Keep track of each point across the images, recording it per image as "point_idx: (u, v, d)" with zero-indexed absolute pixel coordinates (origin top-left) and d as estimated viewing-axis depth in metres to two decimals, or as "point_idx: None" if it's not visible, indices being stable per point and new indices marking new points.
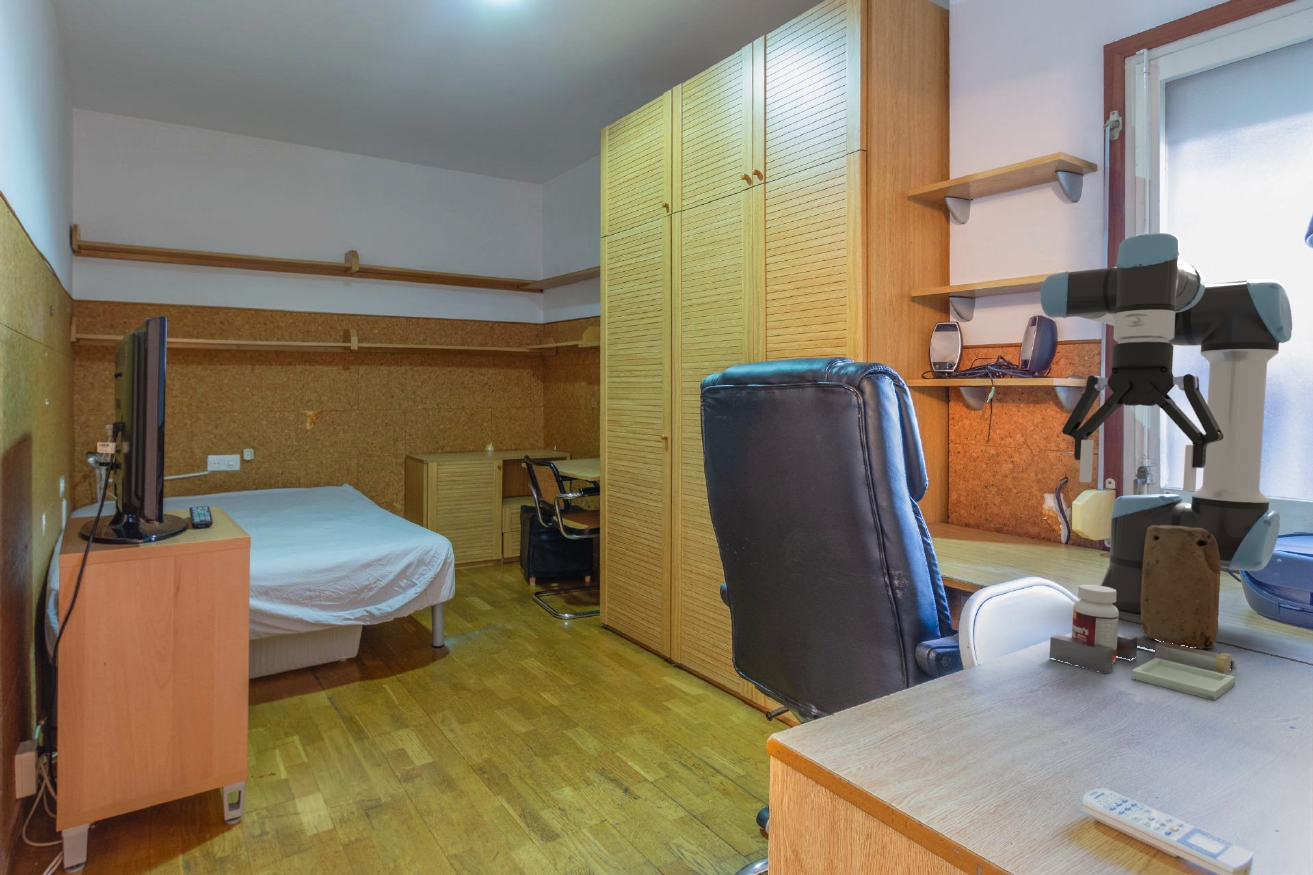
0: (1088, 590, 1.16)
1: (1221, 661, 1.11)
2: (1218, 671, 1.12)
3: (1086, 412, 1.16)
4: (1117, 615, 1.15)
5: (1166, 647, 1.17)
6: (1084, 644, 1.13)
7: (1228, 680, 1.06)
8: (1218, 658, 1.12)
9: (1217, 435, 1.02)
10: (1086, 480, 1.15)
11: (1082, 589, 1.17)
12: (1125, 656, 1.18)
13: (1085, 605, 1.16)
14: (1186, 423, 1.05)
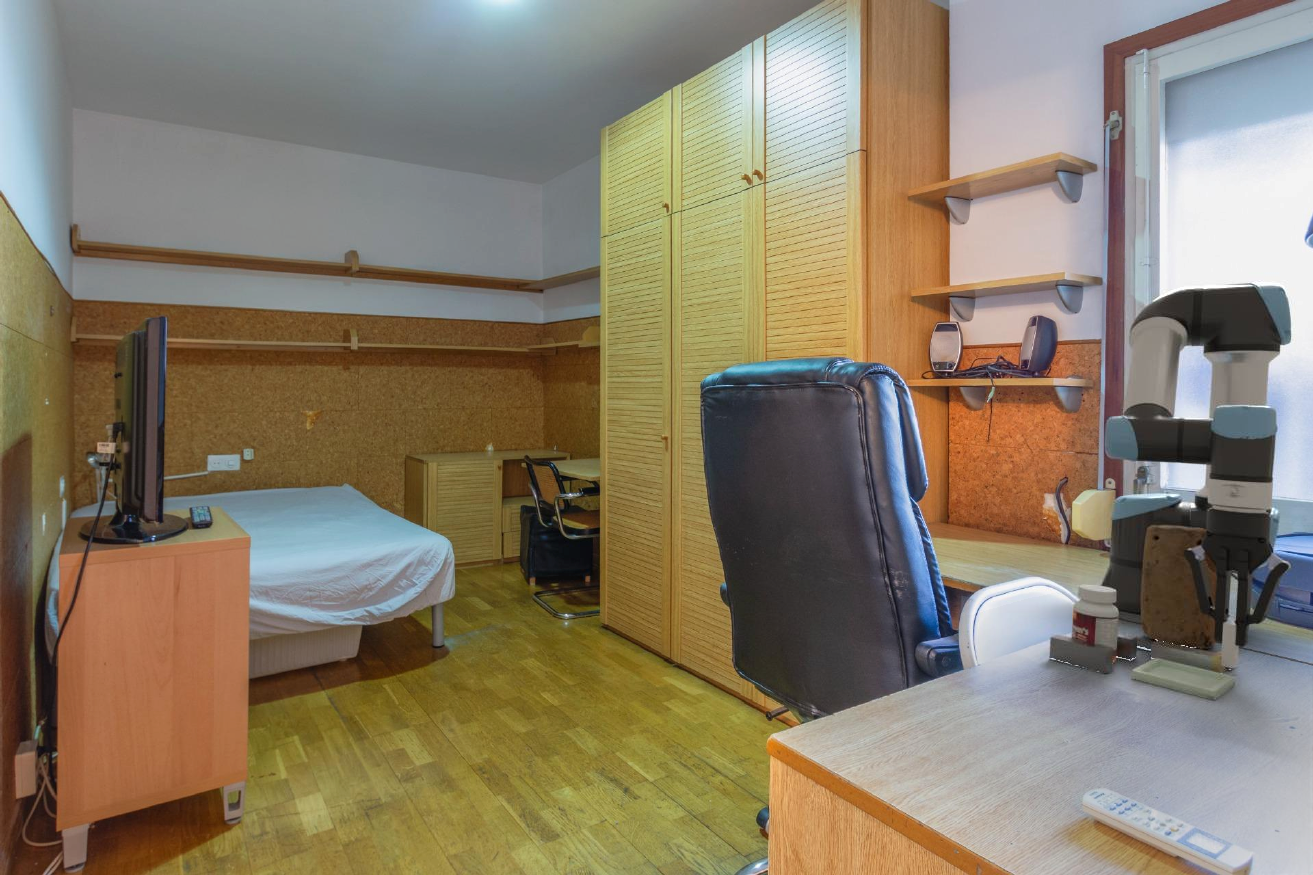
0: (1088, 590, 1.16)
1: (1216, 660, 1.12)
2: (1214, 670, 1.12)
3: (1207, 584, 1.15)
4: (1117, 615, 1.15)
5: (1162, 646, 1.17)
6: (1084, 644, 1.13)
7: (1228, 680, 1.06)
8: (1214, 657, 1.12)
9: (1260, 621, 1.08)
10: None
11: (1082, 589, 1.17)
12: (1125, 656, 1.18)
13: (1085, 605, 1.16)
14: (1245, 604, 1.10)
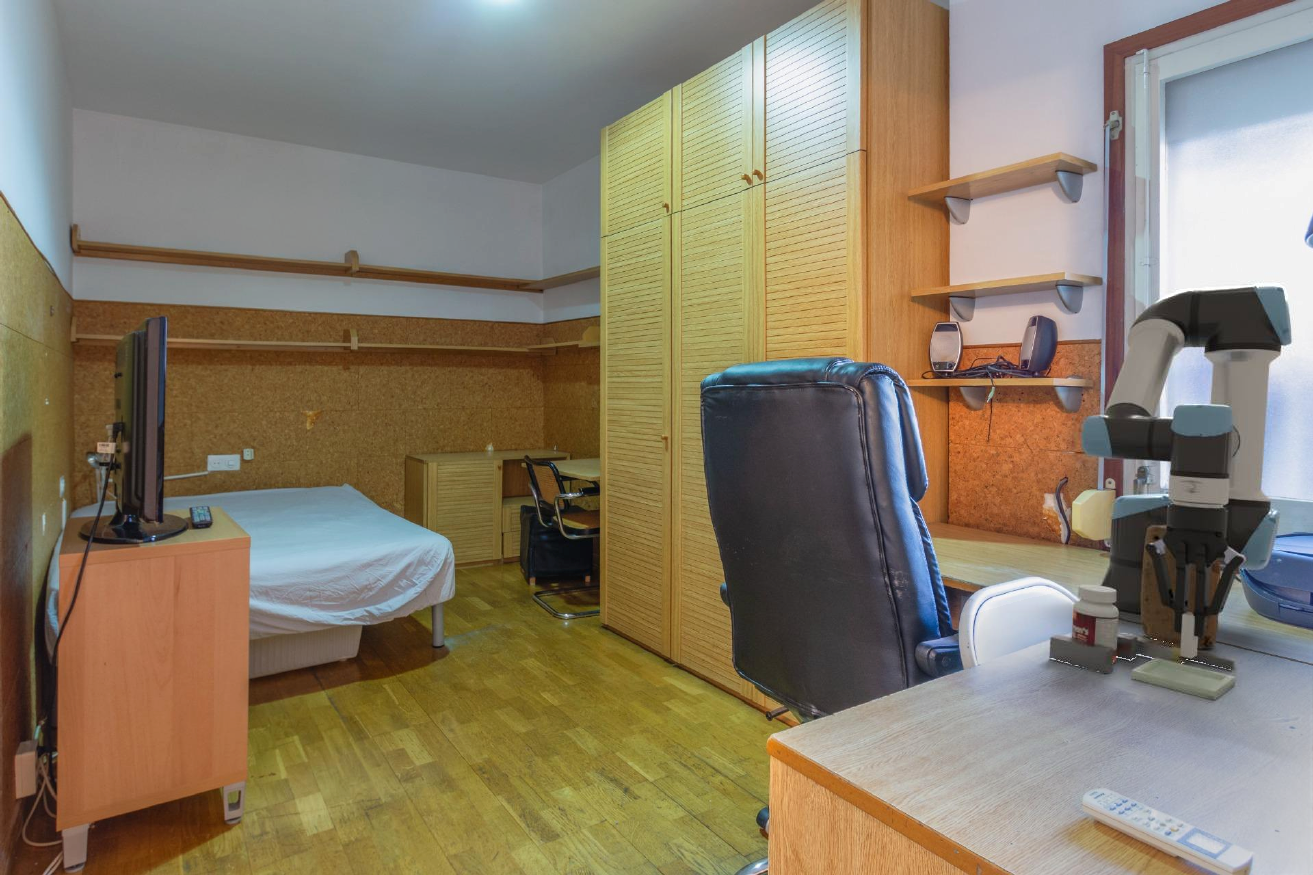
0: (1088, 590, 1.16)
1: (1176, 651, 1.16)
2: (1174, 660, 1.16)
3: (1168, 577, 1.19)
4: (1117, 615, 1.15)
5: None
6: (1084, 644, 1.13)
7: (1228, 680, 1.06)
8: (1174, 648, 1.16)
9: (1216, 612, 1.12)
10: None
11: (1082, 589, 1.17)
12: (1125, 656, 1.18)
13: (1085, 605, 1.16)
14: (1203, 596, 1.14)
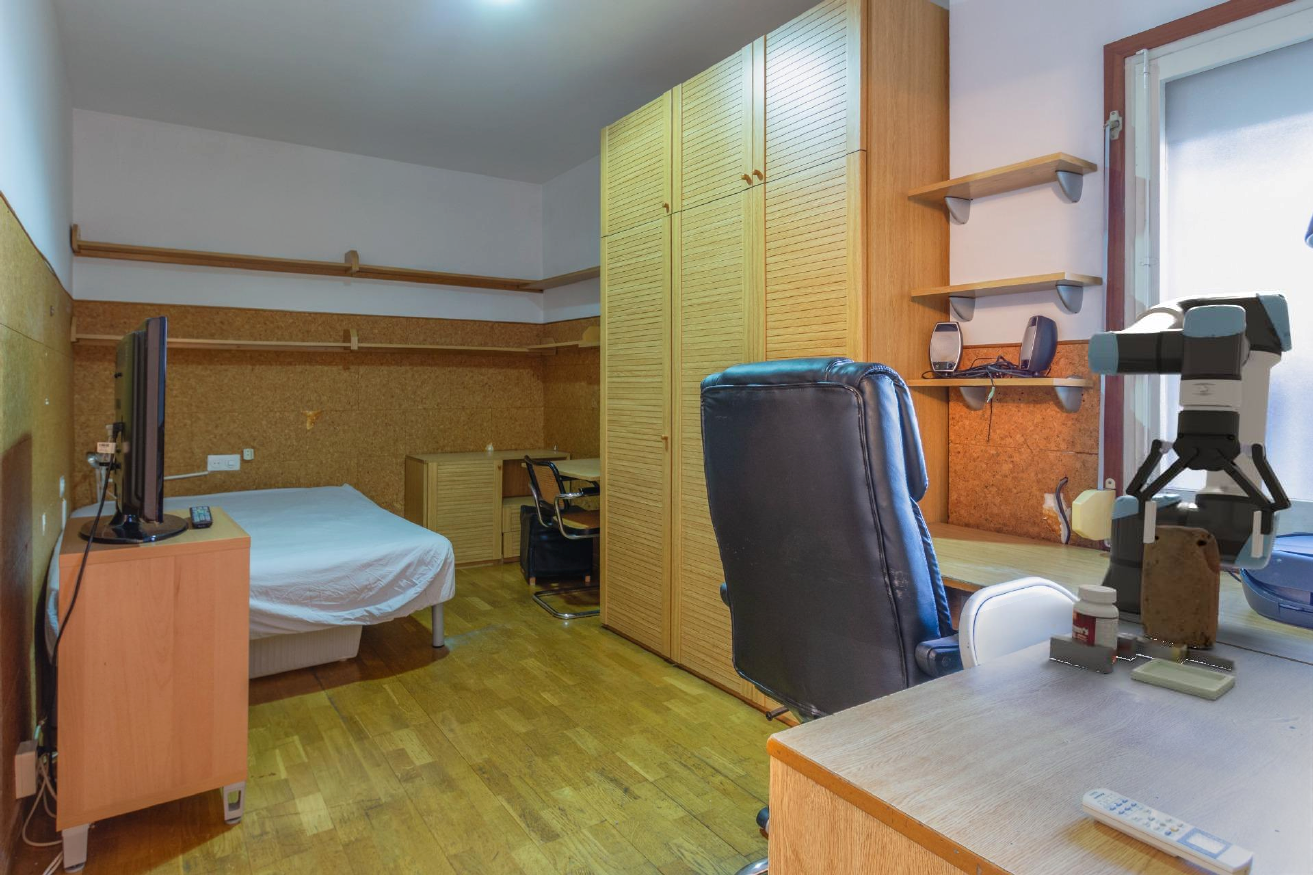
0: (1088, 590, 1.16)
1: (1176, 651, 1.16)
2: (1173, 660, 1.16)
3: (1149, 473, 1.19)
4: (1117, 615, 1.15)
5: None
6: (1084, 644, 1.13)
7: (1228, 680, 1.06)
8: (1173, 648, 1.16)
9: (1286, 504, 1.05)
10: (1150, 541, 1.18)
11: (1082, 589, 1.17)
12: (1125, 656, 1.18)
13: (1085, 605, 1.16)
14: (1254, 491, 1.08)
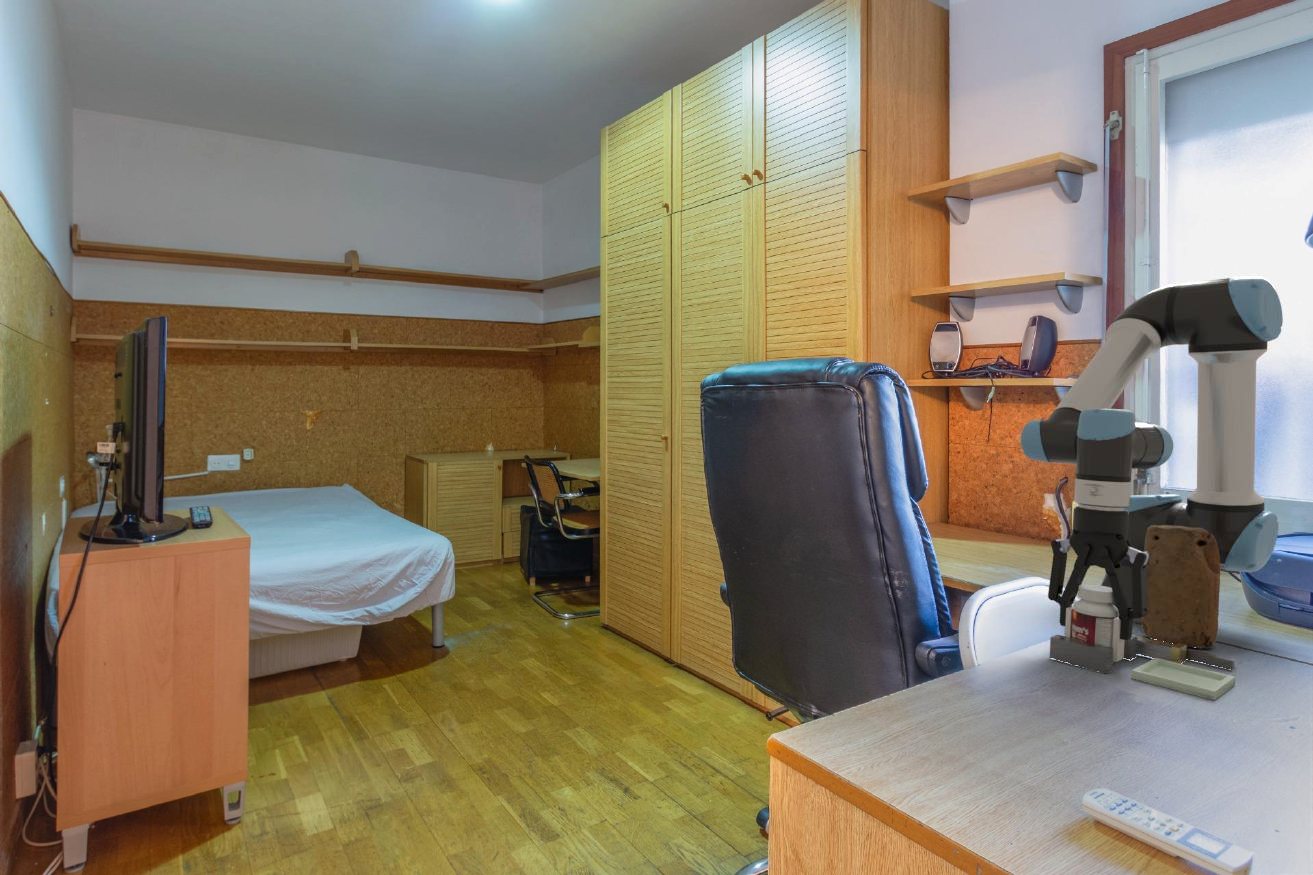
0: (1088, 590, 1.16)
1: (1176, 651, 1.16)
2: (1173, 660, 1.16)
3: (1063, 574, 1.22)
4: (1117, 615, 1.15)
5: None
6: (1084, 644, 1.13)
7: (1228, 680, 1.06)
8: (1173, 648, 1.16)
9: (1141, 614, 1.12)
10: None
11: (1082, 589, 1.17)
12: (1125, 656, 1.18)
13: (1085, 605, 1.16)
14: (1121, 597, 1.14)
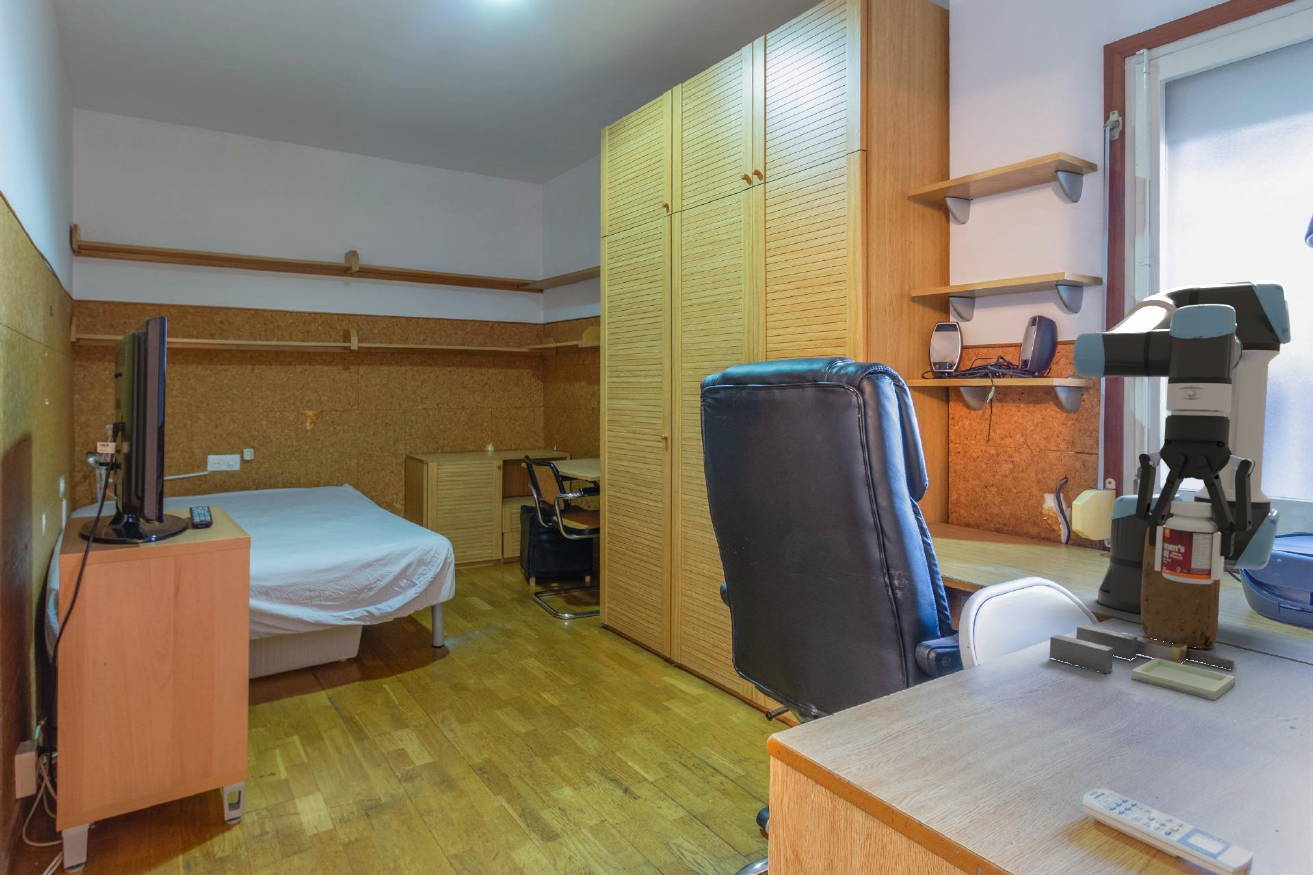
0: (1184, 504, 1.06)
1: (1176, 651, 1.16)
2: (1173, 660, 1.16)
3: (1152, 491, 1.12)
4: (1216, 530, 1.06)
5: None
6: (1084, 644, 1.13)
7: (1228, 680, 1.06)
8: (1173, 648, 1.16)
9: (1246, 527, 1.02)
10: None
11: (1176, 504, 1.07)
12: (1125, 656, 1.18)
13: (1180, 520, 1.07)
14: (1222, 510, 1.04)
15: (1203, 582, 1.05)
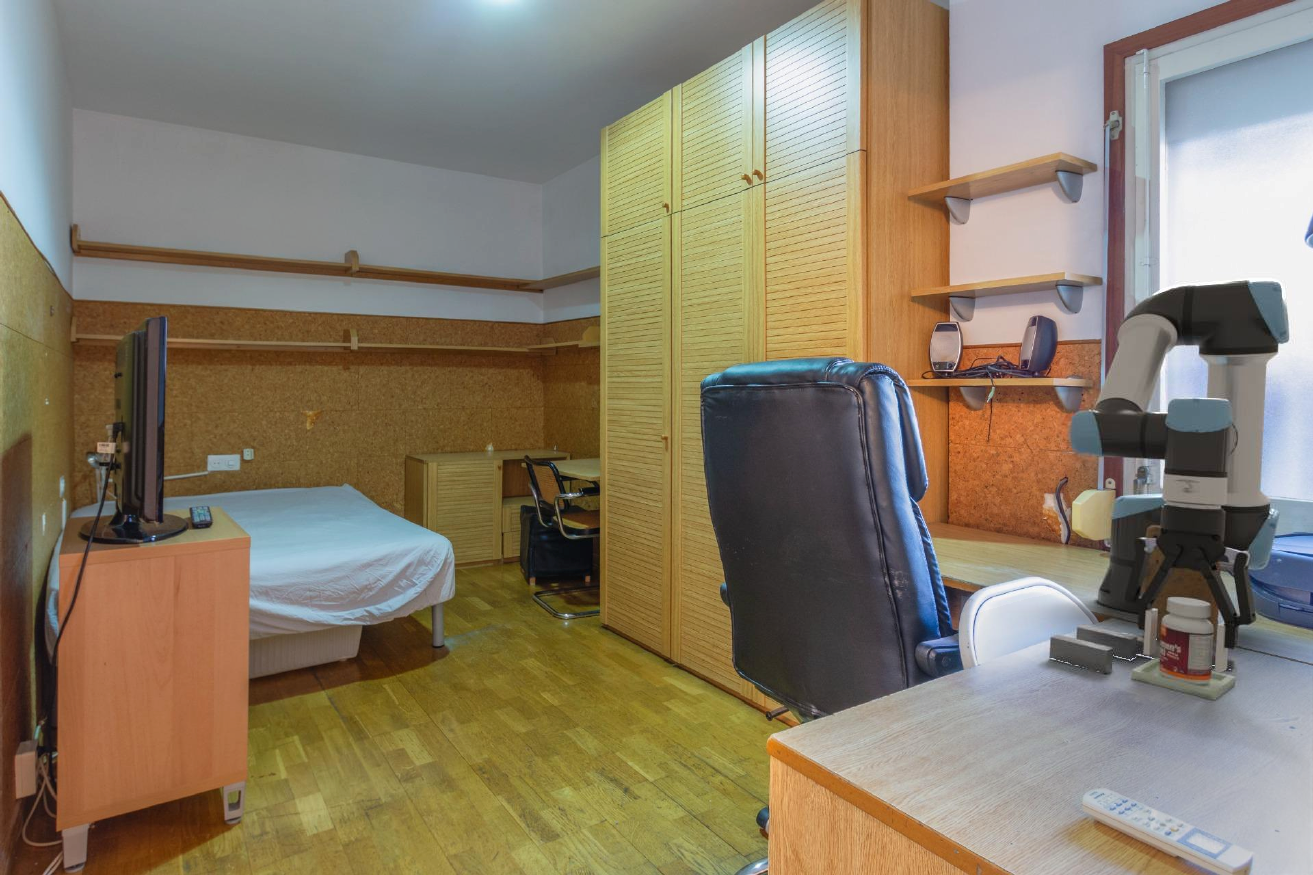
0: (1180, 604, 1.07)
1: None
2: None
3: (1143, 575, 1.13)
4: (1212, 631, 1.06)
5: None
6: (1084, 644, 1.13)
7: (1228, 680, 1.06)
8: None
9: (1250, 621, 1.02)
10: (1151, 652, 1.11)
11: (1172, 603, 1.08)
12: (1125, 656, 1.18)
13: (1177, 620, 1.07)
14: (1224, 602, 1.04)
15: (1200, 683, 1.05)
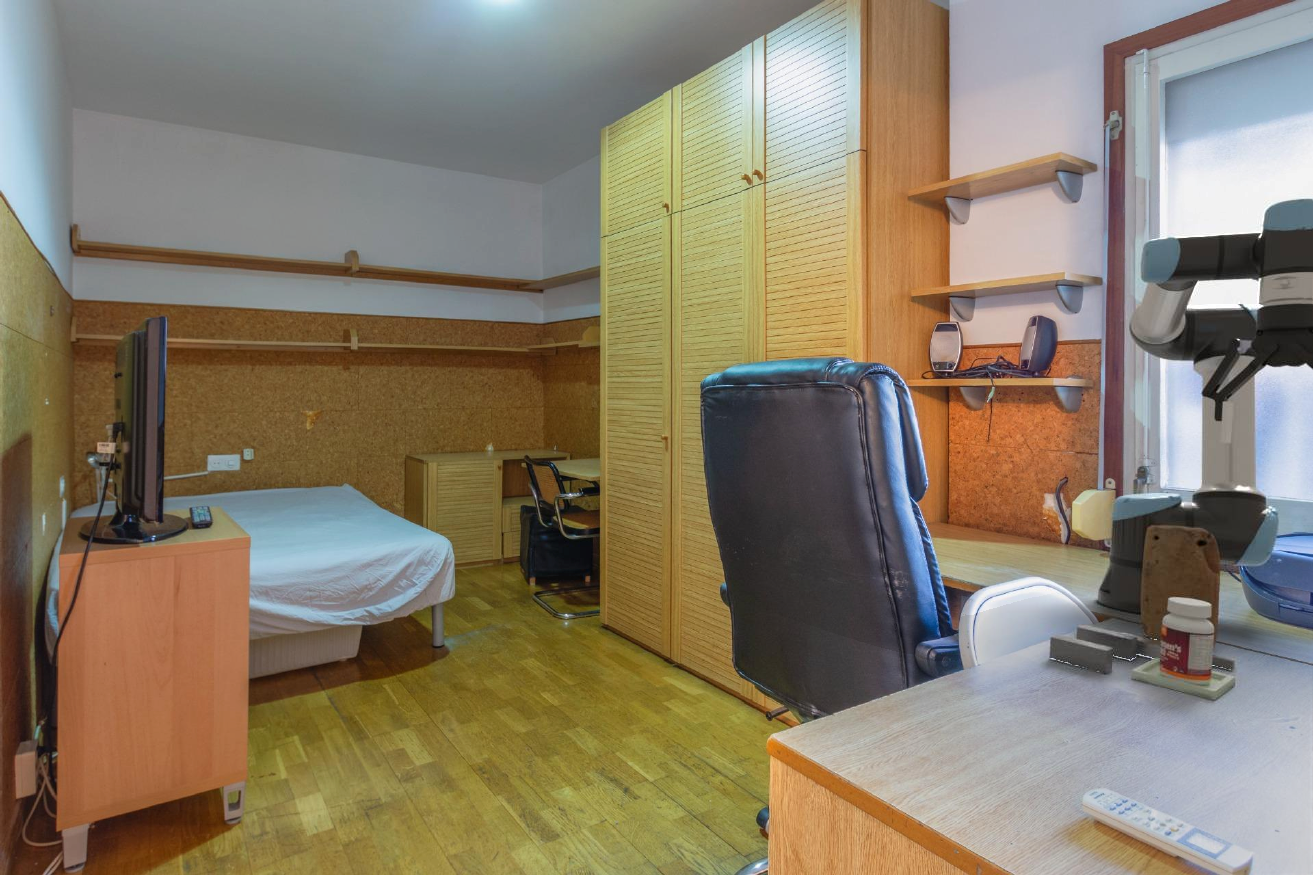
0: (1180, 604, 1.07)
1: None
2: None
3: (1226, 375, 1.20)
4: (1213, 631, 1.06)
5: None
6: (1084, 644, 1.13)
7: (1228, 680, 1.06)
8: None
9: None
10: (1227, 440, 1.19)
11: (1173, 603, 1.08)
12: (1125, 656, 1.18)
13: (1177, 620, 1.07)
14: None
15: (1200, 683, 1.05)
